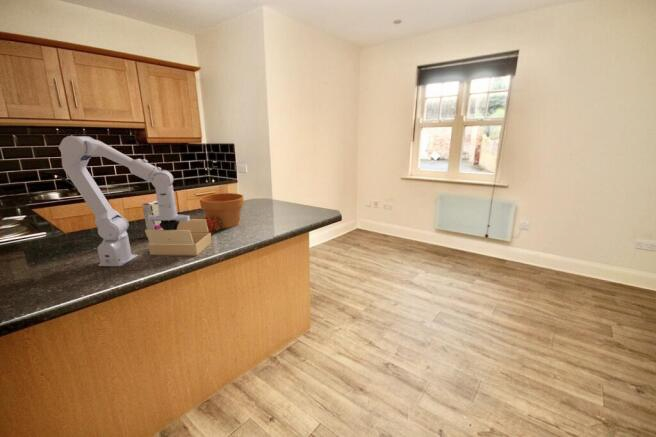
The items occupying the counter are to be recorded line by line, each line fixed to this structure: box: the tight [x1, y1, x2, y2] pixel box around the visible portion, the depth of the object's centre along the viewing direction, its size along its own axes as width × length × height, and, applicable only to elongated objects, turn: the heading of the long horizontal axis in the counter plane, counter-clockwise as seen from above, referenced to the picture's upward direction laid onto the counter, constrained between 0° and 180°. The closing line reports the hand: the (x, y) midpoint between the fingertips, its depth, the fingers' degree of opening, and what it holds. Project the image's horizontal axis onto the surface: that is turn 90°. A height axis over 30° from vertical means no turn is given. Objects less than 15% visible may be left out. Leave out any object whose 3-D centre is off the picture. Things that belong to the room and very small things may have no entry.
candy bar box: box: [141, 199, 163, 230], centre depth 129 cm, size 11×5×16 cm, turn 168°
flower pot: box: [199, 192, 244, 230], centre depth 147 cm, size 21×21×15 cm
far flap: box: [177, 218, 210, 233], centre depth 120 cm, size 6×16×1 cm
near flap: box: [144, 229, 194, 244], centre depth 107 cm, size 6×16×1 cm
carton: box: [148, 232, 212, 257], centre depth 116 cm, size 14×18×4 cm
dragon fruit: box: [201, 216, 222, 234], centre depth 136 cm, size 8×8×12 cm
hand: (172, 239), depth 108 cm, fingers closed, pressing on near flap
